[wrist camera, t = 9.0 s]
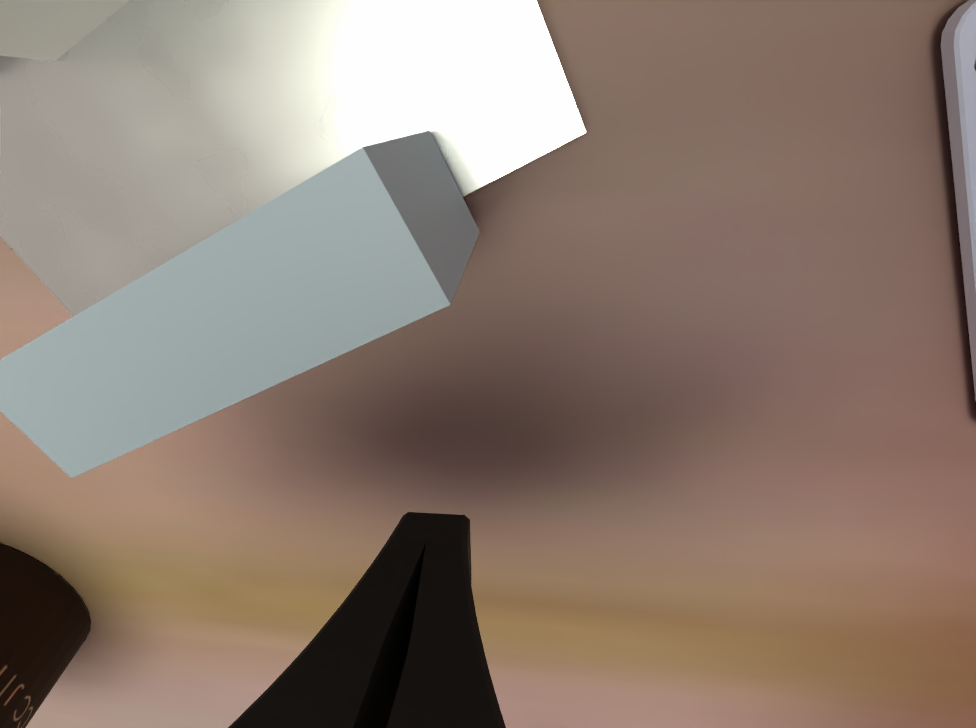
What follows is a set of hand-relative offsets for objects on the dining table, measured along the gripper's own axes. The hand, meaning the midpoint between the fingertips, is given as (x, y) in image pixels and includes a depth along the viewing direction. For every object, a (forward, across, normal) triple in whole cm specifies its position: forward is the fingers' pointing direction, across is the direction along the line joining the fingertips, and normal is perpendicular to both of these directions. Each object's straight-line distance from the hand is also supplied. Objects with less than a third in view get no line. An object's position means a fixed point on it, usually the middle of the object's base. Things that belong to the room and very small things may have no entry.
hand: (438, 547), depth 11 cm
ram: (+2, +3, -6) cm, 7 cm away
